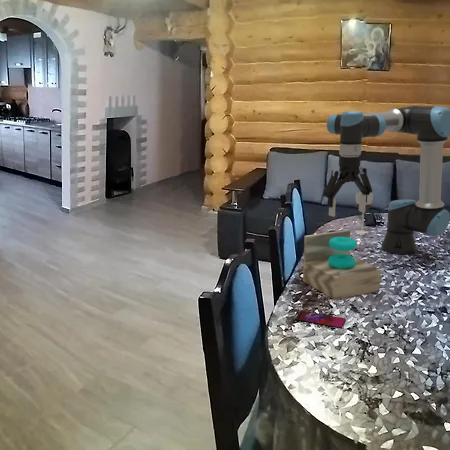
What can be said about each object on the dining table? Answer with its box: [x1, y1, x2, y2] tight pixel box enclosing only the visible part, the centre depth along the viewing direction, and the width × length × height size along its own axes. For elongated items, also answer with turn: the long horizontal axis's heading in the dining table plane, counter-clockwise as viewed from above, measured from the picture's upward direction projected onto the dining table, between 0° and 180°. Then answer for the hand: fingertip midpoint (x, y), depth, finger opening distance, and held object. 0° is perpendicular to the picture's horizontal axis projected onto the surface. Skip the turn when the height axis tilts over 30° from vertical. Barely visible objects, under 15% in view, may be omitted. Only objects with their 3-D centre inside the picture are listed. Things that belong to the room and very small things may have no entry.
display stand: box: [302, 229, 382, 300], centre depth 193 cm, size 20×20×18 cm
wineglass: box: [354, 191, 374, 235], centre depth 267 cm, size 8×9×20 cm
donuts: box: [328, 237, 358, 269], centre depth 192 cm, size 10×10×10 cm
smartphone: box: [294, 310, 347, 329], centre depth 167 cm, size 8×1×15 cm
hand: (347, 213), depth 192 cm, fingers open, 13 cm apart
